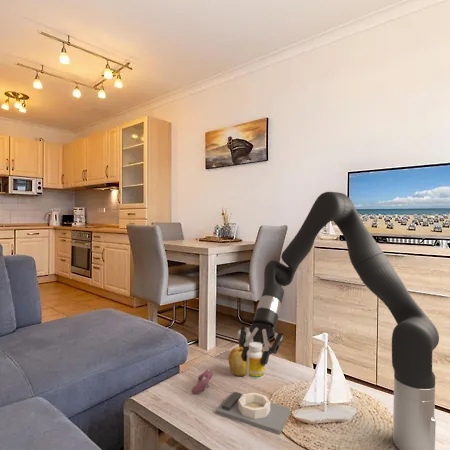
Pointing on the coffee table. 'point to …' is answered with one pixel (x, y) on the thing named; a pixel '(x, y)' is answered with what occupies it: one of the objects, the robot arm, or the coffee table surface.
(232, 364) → the apple
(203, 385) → the pink toy shoe
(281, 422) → the board
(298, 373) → the coffee table surface
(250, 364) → the supplement bottle
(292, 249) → the robot arm
